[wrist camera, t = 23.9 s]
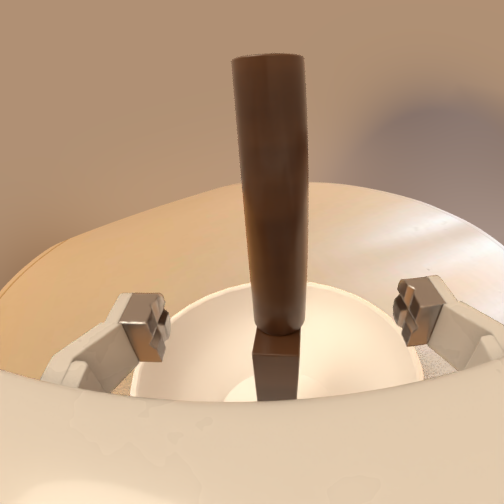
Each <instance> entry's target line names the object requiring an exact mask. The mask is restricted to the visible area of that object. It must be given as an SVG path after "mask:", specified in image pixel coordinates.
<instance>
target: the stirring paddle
mask: <svg viewBox="0 0 504 504" xmlns="http://www.w3.org/2000/svg"><path fill="white" fill-rule="evenodd" d="M231 62H232V74H233V86H234V99H235V110H236V122H237V134H238V145H239V157H240V168H241V180H242V192H243V203H244V214H245V226H246V237H247V248H248V259H249V270H250V281H251V292H252V303H253V314H254V322H255V324H256V326H257V328H256V334H255V339H254V345H253V350H252V361H253V370H254V378H255V387H256V396H257V401H279V400H294V399H297V392H298V378H299V364H300V341H301V327H302V325H303V324H304V321H305V311H306V289H307V260H308V135H307V134H308V131H307V104H306V83H305V67H304V57H303V56H301V55H297V54H284V53H273V54H272V53H271V54H255V55H247V56H241V57H238V58H234V59H233V60H232V61H231Z"/></svg>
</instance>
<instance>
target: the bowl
mask: <svg viewBox="0 0 504 504" xmlns="http://www.w3.org/2000/svg"><path fill="white" fill-rule="evenodd" d="M170 322H171V332H170V336H169V339H168V340H166V341H165V342H164V344H165V346H166V350H165V354H164V357H163V361H162V362H139V364H138V365H137V366H136V367H135V370H134V374H133V379H132V385H131V390H130V396H134V397H143V398H154V399H166V400H182V401H206V402H254V401H257V396H256V387H255V378H254V370H253V361H252V350H253V345H254V339H255V334H256V328H257V326H256V324H255V322H254V314H253V303H252V292H251V283H247V284H243V285H239V286H235V287H231V288H226V289H224V290H221V291H218V292H216V293H213V294H210V295H208V296H205V297H203V298H202V299H200V300H198V301H196V302H194V303H192V304H190V305H188V306H187V307H185V308H184V309H182V310H181V311H180V312H178V313H177V314H175V315H174V316H173V317H171V318H170ZM401 332H402V329H401V328H400V327H399V326H398V325H397V324H396V323H395V322H394V320H393V319H392V318H391V317H390V316H388V315H387V314H386V313H384V312H383V311H382V310H380V309H379V308H378V307H376V306H375V305H373V304H372V303H370V302H368V301H366V300H364V299H362V298H360V297H358V296H356V295H355V294H352V293H349V292H346V291H344V290H341V289H338V288H335V287H331V286H327V285H322V284H318V283H313V282H307V289H306V311H305V321H304V324H303V325H302V327H301V341H300V364H299V378H298V392H297V399H307V398H317V397H327V396H336V395H344V394H351V393H358V392H364V391H371V390H377V389H382V388H388V387H393V386H398V385H403V384H408V383H413V382H417V381H422V380H424V374H423V369H422V366H421V363H420V360H419V357H418V355H417V352H416V349H415V348H414V346H411V347H407V346H406V344H405V342H404V340H403V337H402V335H401Z"/></svg>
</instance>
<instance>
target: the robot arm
mask: <svg viewBox="0 0 504 504" xmlns="http://www.w3.org/2000/svg"><path fill="white" fill-rule="evenodd" d="M397 290H398V292H399V293H400V294H399V295H398V296H397V297H396V298H395V300H394V305H393V316H394V320H395V322H396V324H397V325H398V326H399V327H401V328H402V332H401V335H402V337H403V340H404V342H405V344H406V346H407V347H411V346H418V345H424V344H427V345H428V346H429V347H430V348H431V349H433V350H434V351H435V352H436V353H437V354H438V355H440V356H441V357H442V358H443V359H444V360H446V361H447V362H448V363H449V364H450V365H451V366H453V367H454V368H455V369H456V370H457V372H453V373H449V374H446V375H442V376H438V377H434V378H430V379H426V380H422V381H417V382H413V383H408V384H403V385H398V386H393V387H388V388H382V389H377V390H371V391H364V392H358V393H351V394H344V395H336V396H327V397H317V398H307V399H294V400H279V401H254V402H206V401H182V400H166V399H154V398H143V397H134V396H126V395H118V394H111V392H112V391H113V390H114V389H115V388H116V387H117V386H118V385H119V384H120V383H121V382H122V380H123V379H124V378H125V377H126V376H127V375H128V374H129V373H130V372H131V371H132V370H133V369H134V368H135V367H136V366H137V365H138V364H139V362H162V361H163V357H164V354H165V350H166V346H165V344H164V342H165V341H166V340H168V339H169V336H170V332H171V322H170V316H169V313H168V312H167V311H166V310H165V309H164V305H165V300H164V297H163V295H162V294H161V293H121V294H120V295H119V296H118V298H117V300H116V302H115V303H114V305H113V307H112V309H111V311H110V313H109V315H108V316H107V318H106V320H105V322H104V323H99V324H98V325H96V326H95V327H93V328H92V329H91V330H89V331H88V332H86V333H85V334H83V335H82V336H80V337H79V338H78V339H76V340H75V341H73V342H72V343H70V344H69V345H67V346H66V347H65V348H63V349H62V350H60V351H59V352H57V353H56V354H55V355H53V356H52V358H51V360H50V362H49V364H48V365H47V367H46V369H45V371H44V373H43V375H42V377H41V379H40V380H38V379H34V378H30V377H26V376H22V375H19V374H15V373H12V372H8V371H5V370H2V369H0V504H504V325H503V324H501V323H499V322H498V321H496V320H494V319H492V318H491V317H489V316H487V315H485V314H483V313H482V312H480V311H478V310H476V309H475V308H473V307H471V306H469V305H467V304H465V303H464V302H462V301H460V302H458V301H457V299H456V298H455V297H454V295H453V294H452V293H451V291H450V290H449V288H448V287H447V286H446V284H445V283H444V282H443V280H442V279H441V278H440V277H439V276H437V275H433V276H425V277H421V278H411V279H401V280H400V282H399V284H398V288H397Z"/></svg>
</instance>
